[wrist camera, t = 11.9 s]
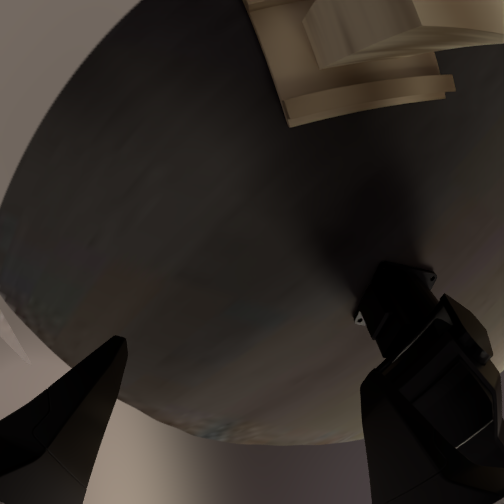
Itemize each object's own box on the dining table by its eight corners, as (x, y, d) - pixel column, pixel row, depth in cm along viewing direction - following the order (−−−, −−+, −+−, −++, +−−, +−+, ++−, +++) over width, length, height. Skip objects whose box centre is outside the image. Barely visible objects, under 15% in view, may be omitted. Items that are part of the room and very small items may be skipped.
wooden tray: (399, -20, 12) (413, -30, 9) (438, 98, 16) (457, 99, 14) (240, -4, 13) (238, -18, 11) (288, 126, 18) (293, 129, 16)
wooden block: (385, 12, 13) (505, -41, 2) (401, 58, 14) (539, 43, 4) (301, 21, 14) (370, -77, 3) (319, 69, 15) (422, 25, 4)
